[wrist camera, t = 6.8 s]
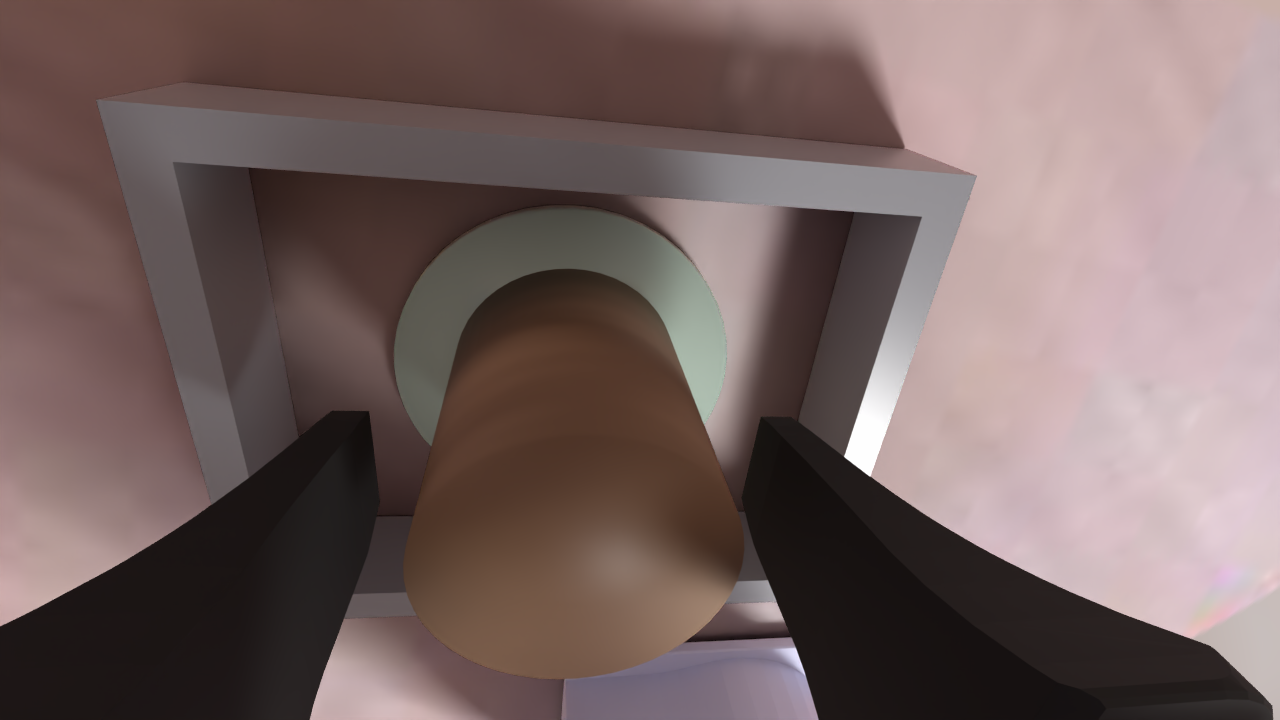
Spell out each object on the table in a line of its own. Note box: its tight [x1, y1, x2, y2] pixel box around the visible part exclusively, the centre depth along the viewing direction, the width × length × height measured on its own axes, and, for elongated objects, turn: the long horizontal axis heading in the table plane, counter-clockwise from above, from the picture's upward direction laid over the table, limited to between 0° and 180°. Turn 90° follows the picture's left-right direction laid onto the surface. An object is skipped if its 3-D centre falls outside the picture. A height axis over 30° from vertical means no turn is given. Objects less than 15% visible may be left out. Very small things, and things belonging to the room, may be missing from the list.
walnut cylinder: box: [403, 269, 744, 679], centre depth 12 cm, size 5×5×6 cm
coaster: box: [394, 205, 727, 446], centre depth 15 cm, size 8×8×1 cm
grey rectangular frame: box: [96, 82, 977, 619], centre depth 14 cm, size 14×11×2 cm
